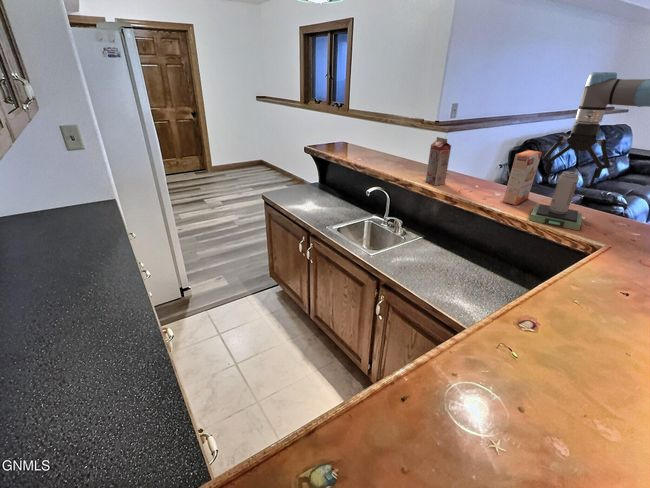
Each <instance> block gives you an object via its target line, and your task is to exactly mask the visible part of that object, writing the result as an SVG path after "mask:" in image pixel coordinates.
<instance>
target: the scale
mask: <svg viewBox="0 0 650 488" xmlns="http://www.w3.org/2000/svg"><path fill="white" fill-rule="evenodd" d="M539 205H540V204H534V207H533V209H532V211H531V213H530V216H529V221H530V222H535V223H541V224H546V225H549V226H555V227H560V228H565V229H569V230H575V231H580V230H581V227H582V221H583V213H582V212H579V211H578V217H577V222H571V221H566V220H561V219H556V218H551V217H546V216H541V215H536V212H537V210H538V208H539Z"/></svg>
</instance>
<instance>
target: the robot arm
mask: <svg viewBox="0 0 650 488" xmlns="http://www.w3.org/2000/svg"><path fill="white" fill-rule="evenodd" d="M608 105H609V106H625V107H627V106H628V107H638V108H641V107H642V108H643V107H648V108H649V107H650V78H645V79H644V78H642V79H638V78H637V79H636V78H635V79H634V78H633V79H631V78H630V79H629V78H628V79H625V78H623V79H621V78H618V73H617V72H615V71H612V72H611V71H608V72H607V71H606V72H605V71H603V72H602V71H599V72H597V71H596V72H592V73H590V74H589V75H588V77H587V80H586V82H585V85H584V87H583V91H582V95H581V98H580V102H579V105H578V107H577V111H576V115H575V118H574V121H575V122H574V123H573V125H572V128H571V131H570V134H569V136H565V135H563V134H561V135H559V137H558V139H557V141H556V142H555V144H553V146H552V147H551V148H550V149H549V150H548V151H547V152H546V154H545V155H544V156H543V157H542V158H541V160H542V162H545V163H546V164H545V168H544V172H545V173H547V174H546V177H545V181H544V182H548V181H549V178H550V176H551V172H552V168H553V165H554V161H555V160H557V159H558V158H560V157H561V156H563V155H564V154H565V153H567V152H568V151H570V150H572V151H576V152H577V151H580V152H586V151H587V152H588V154H589V155H590V157H591V158H592V160H593V162H594V163H595V165H596V167H594V171H593V172H592V173H593V174H592V177H591V179H590V182H589V184H588V188H593V185H594V183H595V179H600V177H601V174H602V171H603V170H604V169H610V168H611V164H610V159H609V154H608V151H607V138H601V139H598V137H597V136H598V133H599V131H600V128H601V124H600V123H602V122H603V119H604V115H605V112H606V110H607V106H608ZM566 141H567V143H568V145H566V146H565V147H563V148H562V149H561V150H559V151H558V152H556V153H555V154H553V153H554V152H555V150H556V149H558V147H559V146H560V145H561V143H563V144H564V142H566ZM596 144H598V146H599V147H600V149H601V154H602V158H603V162H604V163H603V164H602V162H601V160H600V158H599V157H598V156H597V153H595V150H594V149H593V146H594V145H596ZM552 154H553V155H552ZM551 155H552V156H551ZM550 156H551V157H550ZM549 157H550V158H549Z"/></svg>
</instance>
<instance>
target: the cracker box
mask: <svg viewBox="0 0 650 488" xmlns="http://www.w3.org/2000/svg"><path fill="white" fill-rule="evenodd" d="M542 154H543V153H542V151H537V150H531V149H528V150H524V151H522V152H519V153H515V156H514V160H513V163H512V167H511V170H510V174H509V178H508V181H507V185H506V189H505V193H504V196H503V200H502V203H505V204H510V205H513V206H518V205H519V204H520V203H522V202H525V201H526V200H528V199H529V197H530V192H531V190H532V186H533V182H534V180H535V177H536V173H537V170H538V166H539V164H540V161H541V157H542Z"/></svg>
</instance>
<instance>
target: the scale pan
mask: <svg viewBox="0 0 650 488" xmlns="http://www.w3.org/2000/svg"><path fill="white" fill-rule="evenodd" d="M538 205H539V208H538V210H537V212H536V215H541V216H546V217H551V218H556V219H561V220H566V221H571V222H577V217H578V212H579V210H575V209H569V208H568V211H567V212H565V214H557V213H553V212H551V211H550V208H549V207H550V204H549V205H548V204H544V203H539V204H538Z"/></svg>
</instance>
